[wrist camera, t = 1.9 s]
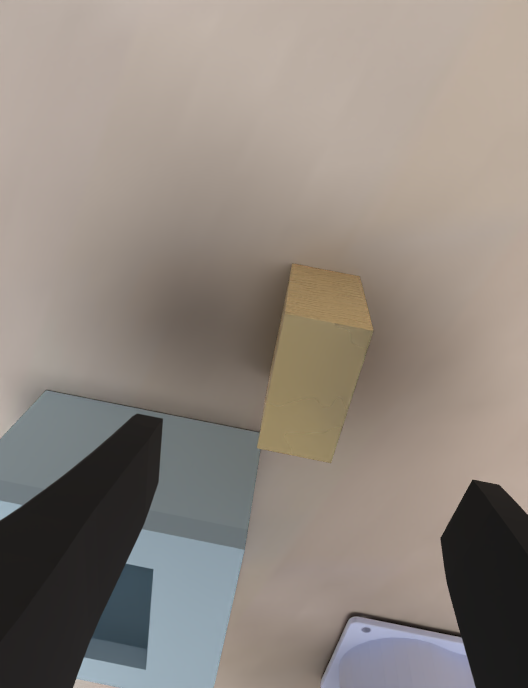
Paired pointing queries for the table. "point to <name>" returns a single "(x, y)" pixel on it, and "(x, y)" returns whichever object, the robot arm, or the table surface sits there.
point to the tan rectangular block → (315, 363)
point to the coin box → (151, 536)
